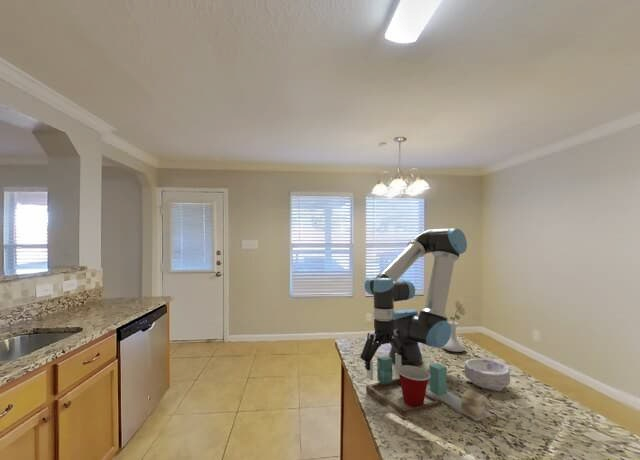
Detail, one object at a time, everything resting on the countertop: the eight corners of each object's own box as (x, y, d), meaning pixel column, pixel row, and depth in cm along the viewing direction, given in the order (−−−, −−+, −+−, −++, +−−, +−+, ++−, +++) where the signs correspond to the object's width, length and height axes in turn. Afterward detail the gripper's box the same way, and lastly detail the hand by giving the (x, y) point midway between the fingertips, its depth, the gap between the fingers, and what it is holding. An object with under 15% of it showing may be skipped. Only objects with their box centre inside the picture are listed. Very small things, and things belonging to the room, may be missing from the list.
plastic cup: (436, 417, 94) (435, 378, 95) (401, 416, 95) (401, 377, 95) (425, 399, 105) (425, 364, 106) (394, 398, 106) (394, 363, 106)
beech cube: (461, 410, 95) (461, 394, 95) (468, 405, 98) (468, 389, 99) (478, 417, 91) (477, 401, 92) (484, 411, 95) (484, 395, 95)
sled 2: (426, 394, 108) (426, 365, 108) (440, 390, 111) (440, 362, 111) (477, 424, 90) (476, 390, 90) (492, 418, 93) (491, 385, 93)
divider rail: (422, 395, 108) (422, 390, 108) (423, 394, 108) (423, 390, 108) (477, 429, 88) (477, 423, 88) (479, 428, 89) (479, 423, 89)
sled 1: (364, 389, 112) (363, 359, 112) (398, 380, 119) (397, 352, 119) (403, 420, 92) (403, 383, 93) (442, 407, 99) (441, 373, 100)
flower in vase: (454, 355, 146) (453, 304, 147) (436, 347, 156) (435, 299, 158) (473, 351, 151) (472, 301, 152) (455, 344, 162) (454, 298, 163)
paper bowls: (457, 384, 116) (457, 363, 116) (476, 374, 125) (475, 355, 126) (500, 401, 104) (499, 377, 104) (517, 388, 113) (516, 366, 113)
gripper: (362, 325, 106) (362, 385, 105) (415, 317, 117) (416, 372, 116) (351, 320, 113) (351, 377, 112) (402, 313, 124) (403, 365, 123)
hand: (384, 375), depth 114 cm, fingers open, 13 cm apart
